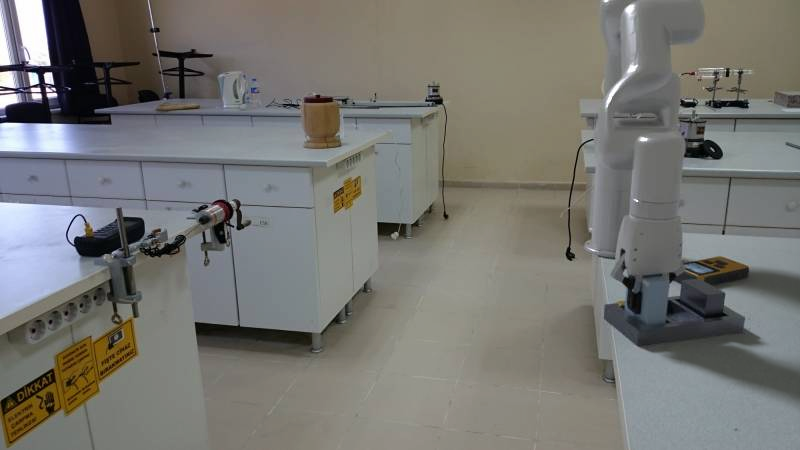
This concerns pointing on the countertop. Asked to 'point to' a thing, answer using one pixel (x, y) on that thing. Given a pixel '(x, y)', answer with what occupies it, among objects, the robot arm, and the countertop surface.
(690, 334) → the rack
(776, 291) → the countertop surface
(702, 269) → the electronic device
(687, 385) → the countertop surface
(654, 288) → the light blue block
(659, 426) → the countertop surface
